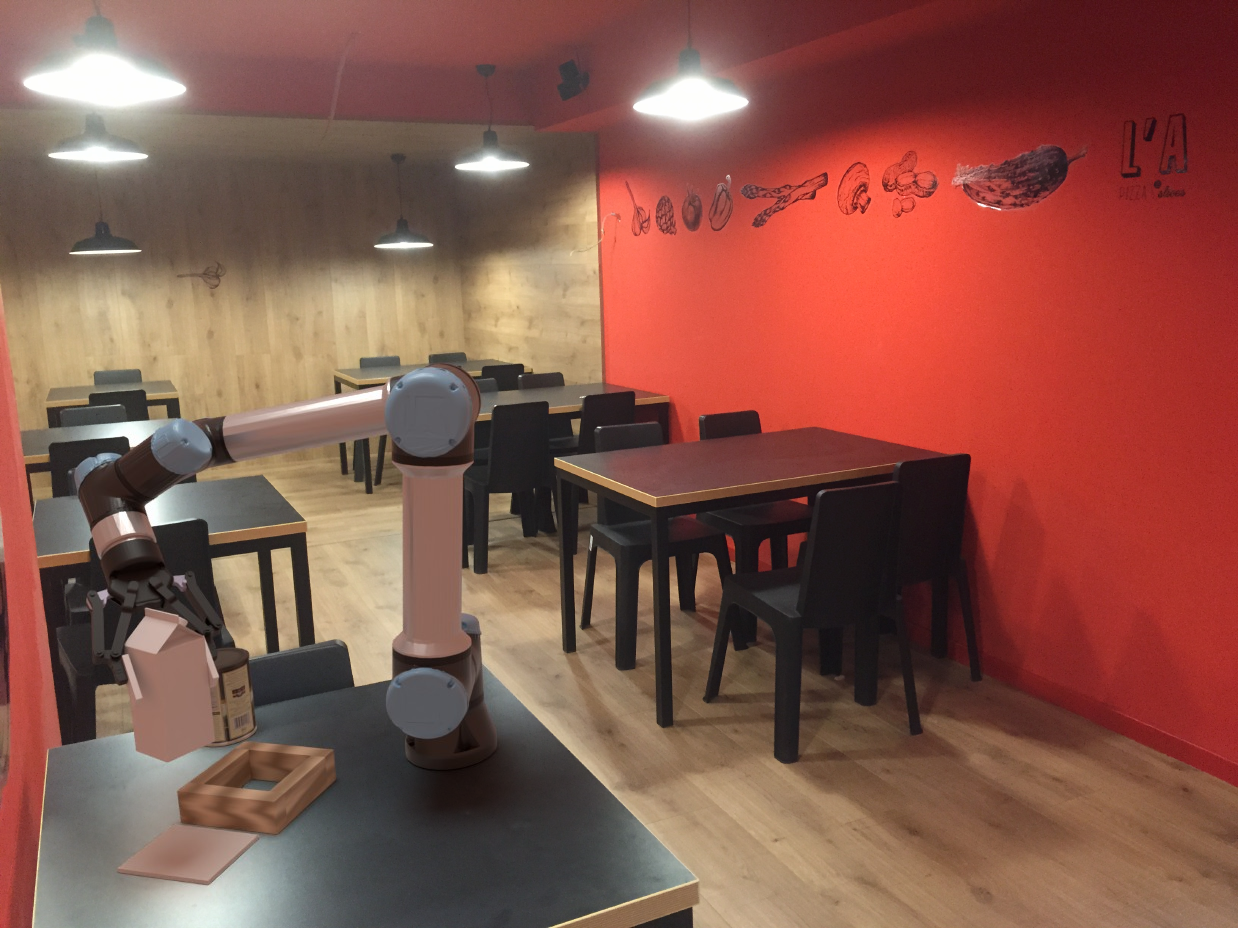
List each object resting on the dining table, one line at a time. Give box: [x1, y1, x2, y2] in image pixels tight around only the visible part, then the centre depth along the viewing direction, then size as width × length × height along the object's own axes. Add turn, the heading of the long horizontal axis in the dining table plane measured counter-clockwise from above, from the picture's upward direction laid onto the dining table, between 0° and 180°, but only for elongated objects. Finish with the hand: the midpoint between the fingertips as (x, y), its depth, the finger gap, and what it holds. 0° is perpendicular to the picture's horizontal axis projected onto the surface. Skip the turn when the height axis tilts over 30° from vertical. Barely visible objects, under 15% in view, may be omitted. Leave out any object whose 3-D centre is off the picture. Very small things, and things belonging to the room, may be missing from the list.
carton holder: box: [176, 740, 337, 835], centre depth 146 cm, size 16×16×5 cm
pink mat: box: [116, 823, 260, 886], centre depth 133 cm, size 14×11×1 cm
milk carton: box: [123, 608, 215, 763], centre depth 128 cm, size 7×7×19 cm
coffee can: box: [205, 647, 258, 748], centre depth 169 cm, size 10×10×14 cm
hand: (177, 692), depth 126 cm, fingers closed on milk carton, 9 cm apart
